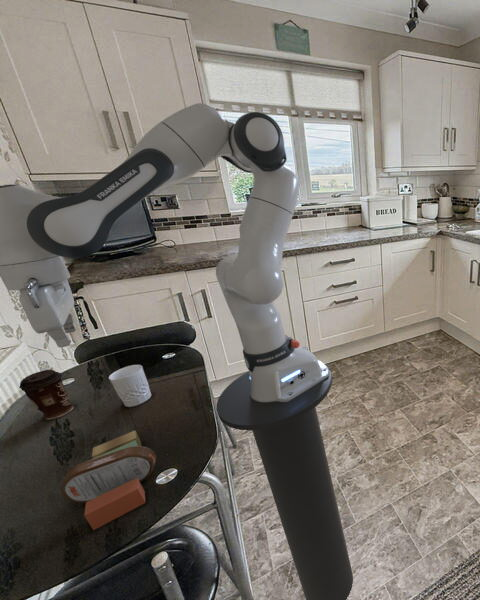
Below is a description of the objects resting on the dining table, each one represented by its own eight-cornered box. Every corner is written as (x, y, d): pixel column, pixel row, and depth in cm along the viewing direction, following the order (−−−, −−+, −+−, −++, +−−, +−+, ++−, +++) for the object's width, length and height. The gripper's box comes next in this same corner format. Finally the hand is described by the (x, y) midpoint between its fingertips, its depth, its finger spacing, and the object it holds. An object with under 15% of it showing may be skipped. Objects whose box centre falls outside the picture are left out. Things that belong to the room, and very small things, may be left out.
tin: (161, 466, 74) (148, 437, 71) (159, 477, 71) (145, 447, 68) (75, 500, 67) (56, 469, 64) (70, 512, 65) (50, 481, 62)
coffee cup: (31, 426, 92) (7, 388, 87) (48, 409, 99) (27, 372, 94) (69, 416, 94) (48, 378, 90) (83, 400, 102) (64, 364, 97)
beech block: (141, 442, 82) (135, 430, 80) (141, 450, 79) (135, 437, 78) (100, 460, 77) (92, 447, 76) (99, 469, 74) (91, 456, 73)
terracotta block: (144, 491, 68) (137, 477, 66) (145, 502, 65) (138, 488, 64) (94, 517, 63) (85, 502, 62) (93, 530, 61) (84, 515, 59)
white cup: (115, 406, 97) (102, 378, 94) (142, 390, 104) (130, 363, 100) (133, 410, 95) (120, 381, 91) (159, 393, 101) (148, 365, 98)
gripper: (49, 279, 57) (83, 349, 62) (65, 263, 72) (92, 320, 77) (-4, 289, 53) (37, 362, 58) (25, 270, 69) (55, 329, 74)
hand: (68, 338), depth 68 cm, fingers open, 8 cm apart
